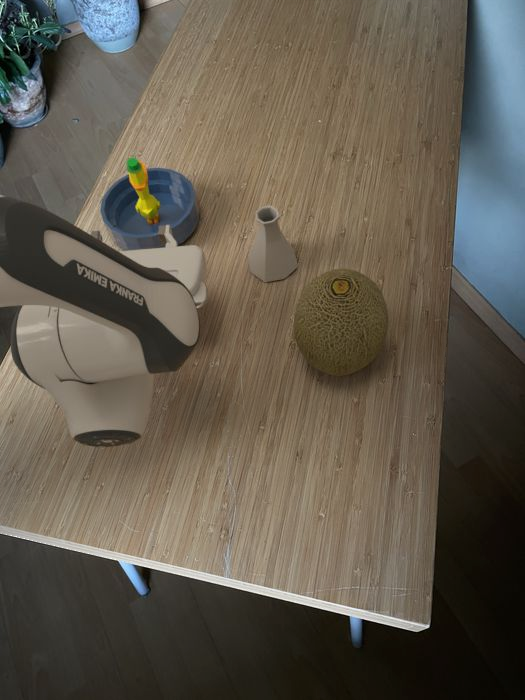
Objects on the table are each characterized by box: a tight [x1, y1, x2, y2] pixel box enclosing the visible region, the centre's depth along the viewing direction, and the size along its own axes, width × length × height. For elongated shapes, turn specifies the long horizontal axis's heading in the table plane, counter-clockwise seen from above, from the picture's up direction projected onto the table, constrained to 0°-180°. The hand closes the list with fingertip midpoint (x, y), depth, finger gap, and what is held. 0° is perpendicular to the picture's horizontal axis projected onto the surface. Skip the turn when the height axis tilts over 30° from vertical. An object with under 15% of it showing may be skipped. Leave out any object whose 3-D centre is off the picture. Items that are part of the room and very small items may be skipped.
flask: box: [247, 204, 299, 283], centre depth 81 cm, size 7×7×10 cm
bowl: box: [99, 167, 200, 251], centre depth 90 cm, size 14×14×4 cm
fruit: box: [293, 268, 390, 377], centre depth 70 cm, size 11×11×15 cm
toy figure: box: [126, 157, 161, 225], centre depth 86 cm, size 7×4×12 cm, turn 10°
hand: (130, 231), depth 78 cm, fingers open, 8 cm apart
